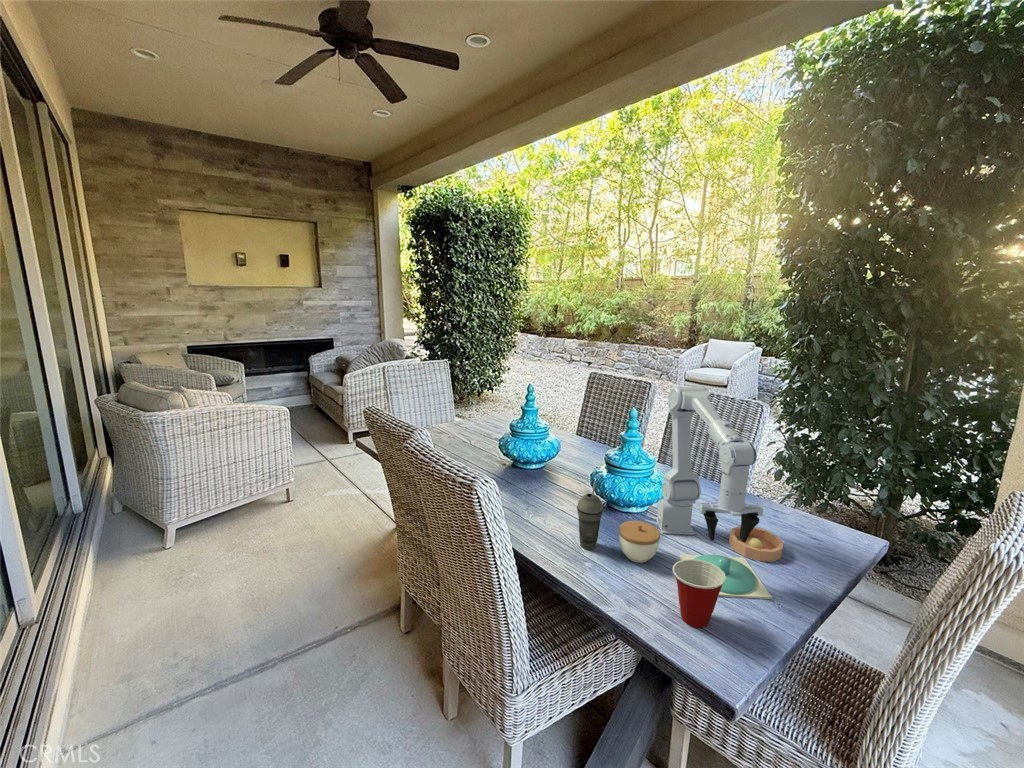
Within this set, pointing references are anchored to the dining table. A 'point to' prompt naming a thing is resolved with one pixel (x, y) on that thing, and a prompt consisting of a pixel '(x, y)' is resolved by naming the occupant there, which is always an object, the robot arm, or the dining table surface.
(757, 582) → the mat
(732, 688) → the dining table surface
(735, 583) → the lid
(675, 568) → the plastic cup
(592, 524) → the beverage cup
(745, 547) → the bowl
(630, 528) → the lidded jar
